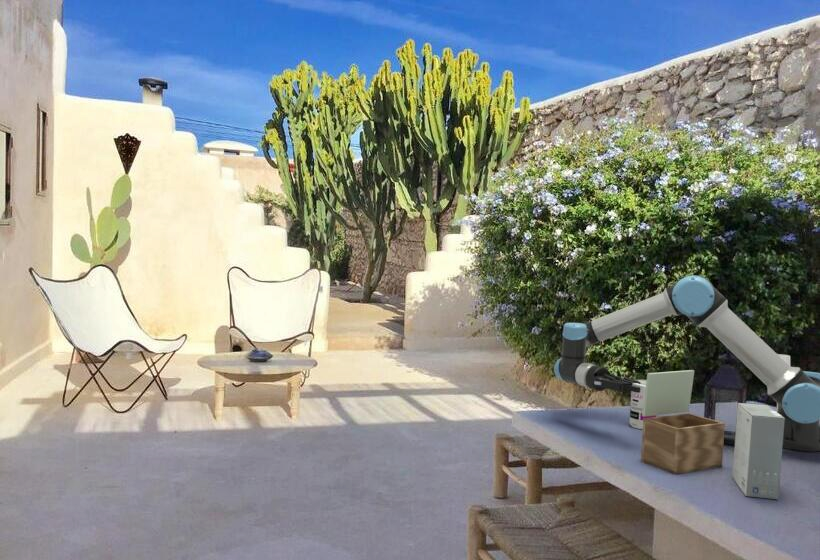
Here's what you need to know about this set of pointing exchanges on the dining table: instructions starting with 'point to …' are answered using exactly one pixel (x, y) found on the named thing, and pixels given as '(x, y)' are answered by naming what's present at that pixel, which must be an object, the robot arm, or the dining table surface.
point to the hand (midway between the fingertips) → (650, 392)
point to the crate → (682, 443)
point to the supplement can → (637, 409)
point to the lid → (668, 392)
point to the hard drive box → (758, 450)
